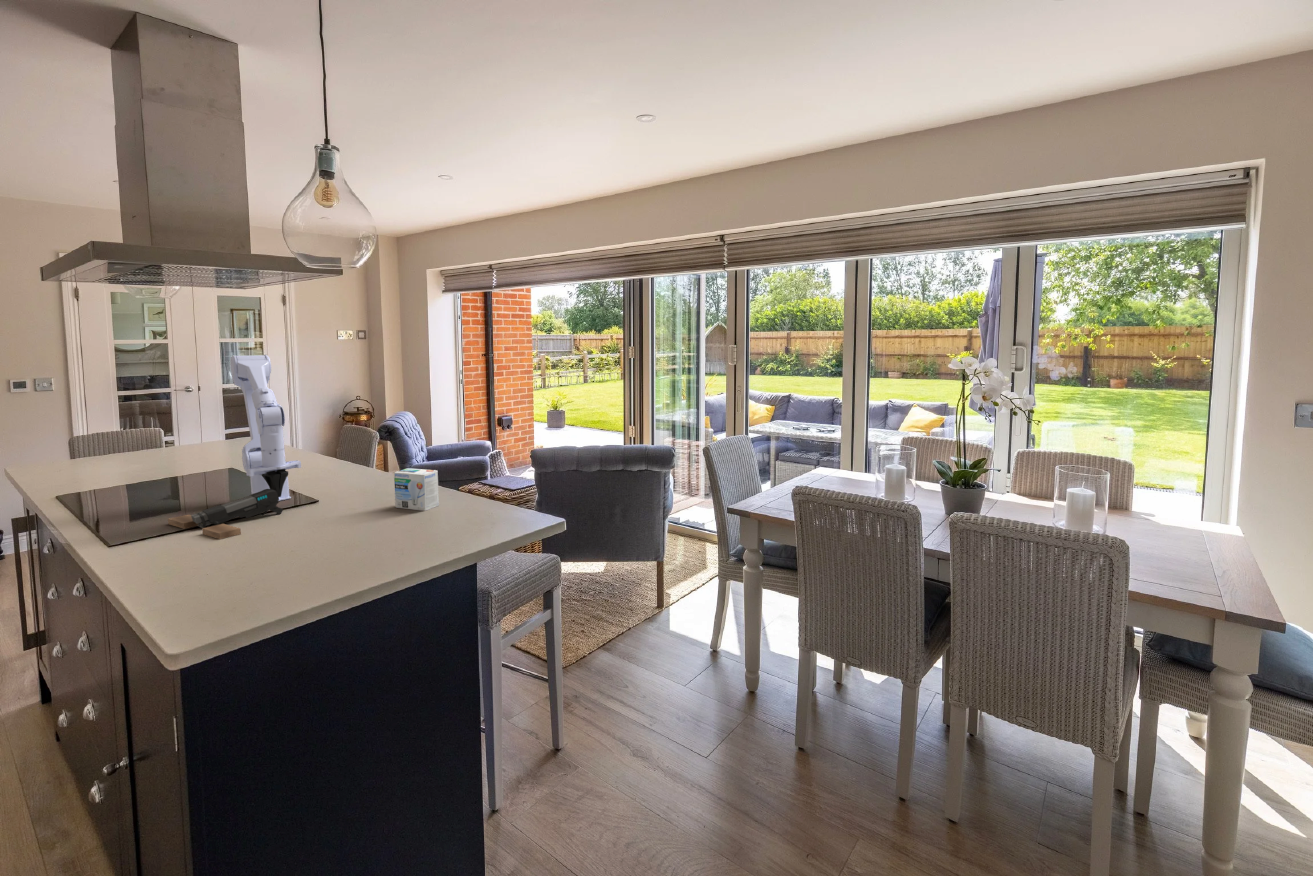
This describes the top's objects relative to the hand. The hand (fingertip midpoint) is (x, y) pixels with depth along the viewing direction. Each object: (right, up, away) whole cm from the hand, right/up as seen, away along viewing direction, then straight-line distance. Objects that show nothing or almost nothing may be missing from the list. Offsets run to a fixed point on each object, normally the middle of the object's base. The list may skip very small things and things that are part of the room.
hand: (276, 496), depth 189 cm
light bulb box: (+37, -4, +7) cm, 38 cm away
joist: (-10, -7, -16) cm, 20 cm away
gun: (-5, -6, -8) cm, 12 cm away
